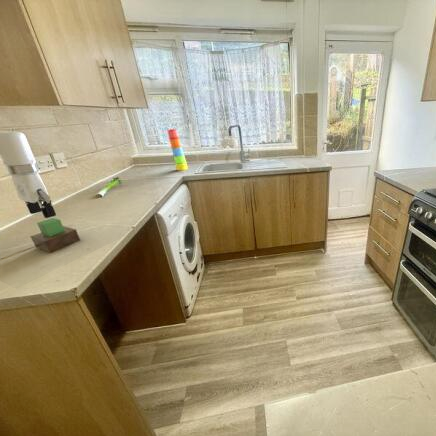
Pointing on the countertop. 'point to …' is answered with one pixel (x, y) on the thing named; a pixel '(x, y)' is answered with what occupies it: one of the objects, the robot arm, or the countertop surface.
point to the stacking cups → (177, 150)
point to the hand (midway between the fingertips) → (43, 214)
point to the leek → (109, 186)
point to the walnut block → (55, 240)
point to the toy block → (51, 227)
